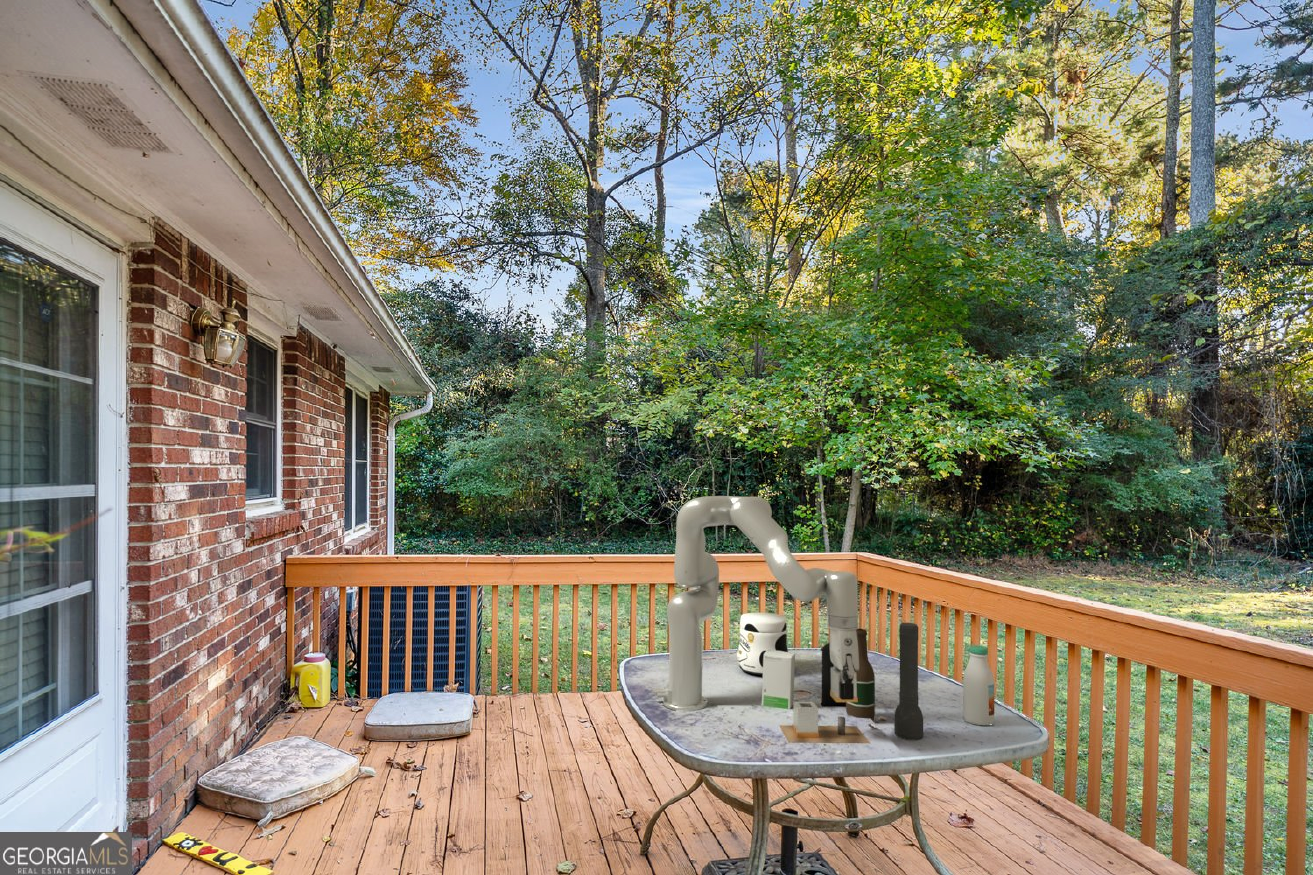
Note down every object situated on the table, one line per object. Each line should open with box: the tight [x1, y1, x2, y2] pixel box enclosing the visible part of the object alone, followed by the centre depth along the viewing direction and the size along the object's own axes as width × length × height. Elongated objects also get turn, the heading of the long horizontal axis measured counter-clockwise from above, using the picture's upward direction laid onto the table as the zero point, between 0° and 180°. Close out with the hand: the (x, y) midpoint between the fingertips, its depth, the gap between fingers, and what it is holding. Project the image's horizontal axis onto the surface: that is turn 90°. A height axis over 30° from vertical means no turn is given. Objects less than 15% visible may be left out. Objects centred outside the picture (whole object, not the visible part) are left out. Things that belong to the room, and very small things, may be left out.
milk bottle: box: [962, 644, 996, 726], centre depth 186 cm, size 8×8×20 cm
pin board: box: [779, 716, 871, 744], centre depth 171 cm, size 20×11×6 cm, turn 91°
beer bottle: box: [845, 628, 876, 722], centre depth 187 cm, size 8×8×24 cm
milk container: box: [736, 611, 789, 676], centre depth 229 cm, size 17×17×18 cm
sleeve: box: [830, 667, 858, 702], centre depth 171 cm, size 5×5×7 cm
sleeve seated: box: [792, 701, 819, 738], centre depth 171 cm, size 5×5×7 cm
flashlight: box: [893, 622, 925, 741], centre depth 176 cm, size 7×28×7 cm
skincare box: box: [761, 649, 796, 710], centre depth 193 cm, size 8×7×16 cm
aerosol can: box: [820, 642, 846, 708], centre depth 197 cm, size 8×8×20 cm
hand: (843, 694), depth 171 cm, fingers closed on sleeve, 5 cm apart
